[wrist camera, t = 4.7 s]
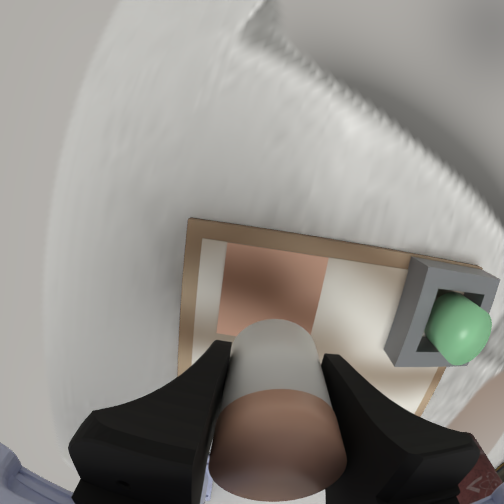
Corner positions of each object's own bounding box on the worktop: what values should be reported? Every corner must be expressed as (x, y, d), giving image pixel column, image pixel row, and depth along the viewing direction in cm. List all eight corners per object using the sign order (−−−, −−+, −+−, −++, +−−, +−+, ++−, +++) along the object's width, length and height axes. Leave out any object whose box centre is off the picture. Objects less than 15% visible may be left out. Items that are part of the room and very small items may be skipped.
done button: (456, 343, 18) (476, 364, 15) (416, 342, 18) (435, 366, 15) (474, 294, 17) (499, 311, 14) (434, 289, 17) (459, 307, 14)
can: (421, 453, 23) (462, 549, 10) (469, 421, 22) (524, 508, 9) (428, 472, 25) (463, 555, 11) (472, 444, 24) (516, 520, 10)
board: (409, 427, 22) (412, 432, 22) (178, 413, 22) (176, 419, 21) (478, 265, 18) (484, 268, 18) (190, 217, 18) (187, 219, 18)
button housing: (452, 350, 19) (467, 365, 17) (382, 348, 19) (394, 367, 17) (481, 269, 18) (500, 279, 16) (411, 256, 18) (428, 266, 15)
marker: (309, 390, 13) (329, 499, 7) (228, 386, 13) (210, 497, 7) (323, 319, 12) (363, 428, 6) (230, 314, 12) (206, 425, 6)
